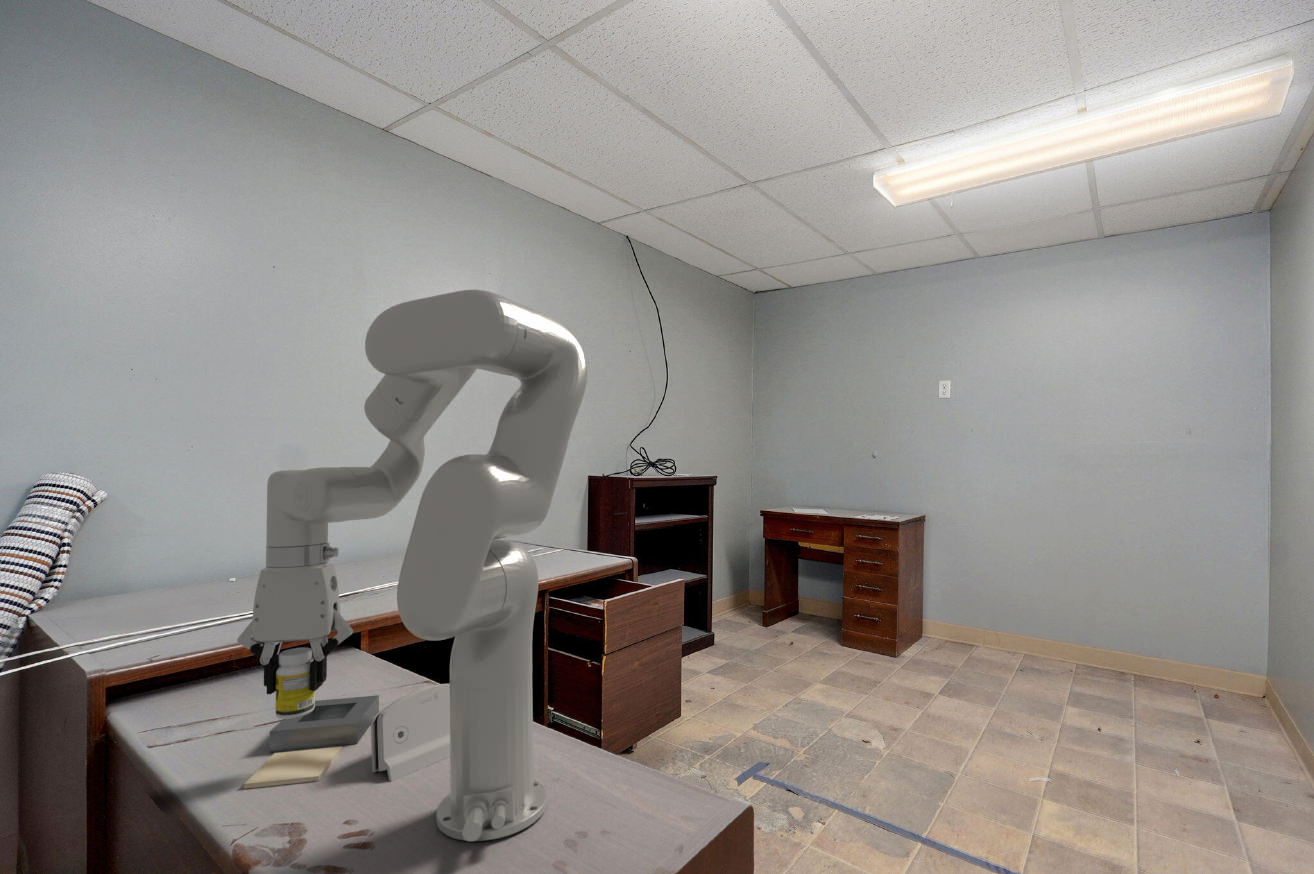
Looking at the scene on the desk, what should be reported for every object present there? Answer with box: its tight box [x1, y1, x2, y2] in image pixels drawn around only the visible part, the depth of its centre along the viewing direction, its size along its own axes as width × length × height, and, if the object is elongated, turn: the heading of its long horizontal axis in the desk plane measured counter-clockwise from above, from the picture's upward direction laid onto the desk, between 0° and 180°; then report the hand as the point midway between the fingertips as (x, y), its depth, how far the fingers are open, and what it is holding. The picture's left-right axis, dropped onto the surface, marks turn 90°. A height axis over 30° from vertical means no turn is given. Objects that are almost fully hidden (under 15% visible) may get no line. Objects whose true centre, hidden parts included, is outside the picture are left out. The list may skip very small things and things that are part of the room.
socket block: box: [269, 695, 380, 753], centre depth 96 cm, size 12×12×3 cm
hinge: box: [370, 683, 450, 782], centre depth 88 cm, size 17×5×10 cm, turn 141°
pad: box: [243, 745, 343, 790], centre depth 84 cm, size 9×9×1 cm
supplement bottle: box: [275, 647, 316, 720], centre depth 85 cm, size 5×5×8 cm
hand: (295, 687), depth 84 cm, fingers closed on supplement bottle, 4 cm apart
